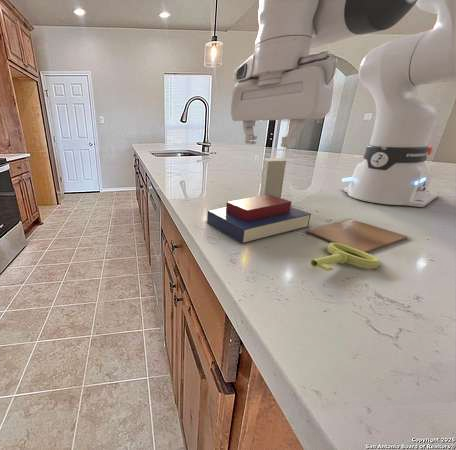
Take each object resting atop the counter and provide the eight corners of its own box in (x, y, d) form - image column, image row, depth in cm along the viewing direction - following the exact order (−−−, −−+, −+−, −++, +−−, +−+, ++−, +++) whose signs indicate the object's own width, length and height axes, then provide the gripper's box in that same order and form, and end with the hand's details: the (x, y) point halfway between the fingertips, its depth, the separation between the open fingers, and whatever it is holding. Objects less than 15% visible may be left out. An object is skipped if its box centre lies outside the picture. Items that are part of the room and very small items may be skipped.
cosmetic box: (279, 207, 65) (287, 160, 60) (262, 206, 66) (268, 160, 61) (274, 200, 71) (280, 157, 66) (257, 199, 72) (263, 157, 67)
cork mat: (350, 220, 55) (351, 219, 55) (406, 238, 46) (407, 236, 46) (306, 232, 50) (307, 230, 50) (360, 254, 42) (361, 252, 41)
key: (306, 272, 37) (309, 260, 36) (330, 245, 45) (333, 235, 44) (365, 294, 32) (370, 280, 31) (381, 260, 40) (386, 248, 39)
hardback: (265, 210, 63) (267, 199, 62) (308, 226, 53) (311, 213, 52) (206, 222, 57) (207, 210, 56) (242, 243, 47) (243, 229, 46)
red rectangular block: (266, 204, 59) (268, 194, 58) (289, 212, 53) (291, 201, 52) (225, 212, 55) (226, 201, 54) (246, 221, 49) (247, 210, 48)
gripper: (354, 49, 35) (330, 148, 41) (252, 75, 53) (244, 142, 58) (324, 45, 33) (303, 150, 38) (228, 73, 51) (222, 143, 56)
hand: (267, 145), depth 48 cm, fingers open, 8 cm apart
